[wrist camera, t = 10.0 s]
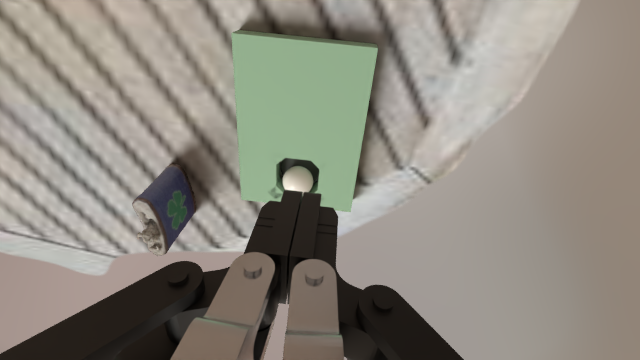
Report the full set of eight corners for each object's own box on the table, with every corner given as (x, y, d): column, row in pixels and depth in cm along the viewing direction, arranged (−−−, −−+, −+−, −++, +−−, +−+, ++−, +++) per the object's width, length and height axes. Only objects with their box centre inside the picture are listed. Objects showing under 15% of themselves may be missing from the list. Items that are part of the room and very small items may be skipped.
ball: (283, 190, 44) (287, 162, 44) (311, 195, 44) (316, 166, 44) (278, 196, 40) (282, 165, 40) (309, 201, 40) (313, 170, 40)
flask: (165, 162, 45) (119, 209, 36) (185, 163, 44) (144, 210, 35) (181, 214, 50) (144, 267, 41) (199, 215, 49) (166, 268, 40)
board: (238, 29, 35) (231, 33, 33) (376, 43, 34) (378, 48, 32) (246, 189, 46) (241, 199, 44) (350, 201, 46) (350, 212, 43)
